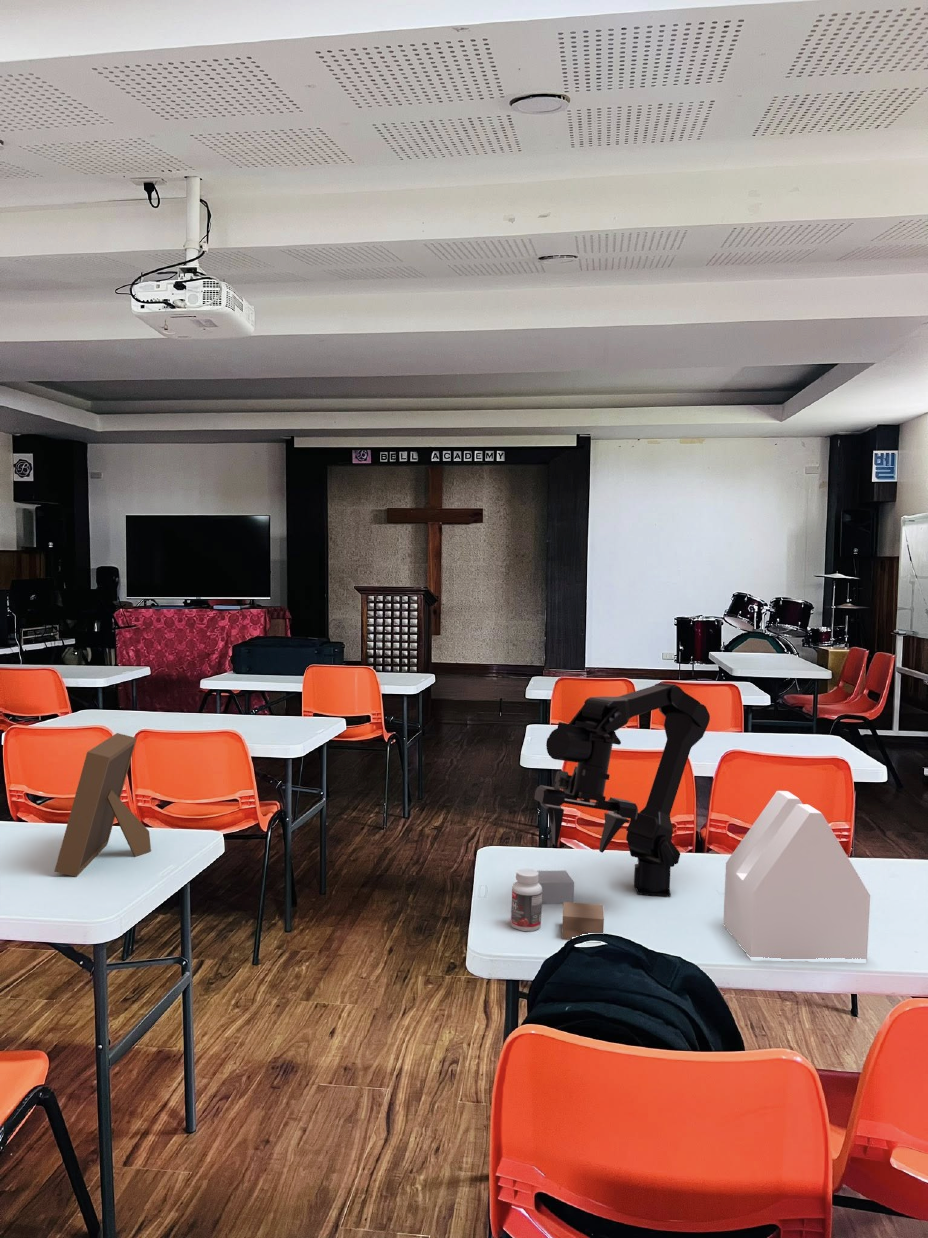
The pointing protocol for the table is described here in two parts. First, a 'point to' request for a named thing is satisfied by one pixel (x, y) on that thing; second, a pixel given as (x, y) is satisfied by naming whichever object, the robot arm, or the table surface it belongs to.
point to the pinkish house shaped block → (795, 888)
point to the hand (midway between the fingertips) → (578, 848)
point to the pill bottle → (526, 901)
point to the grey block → (556, 886)
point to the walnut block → (581, 919)
